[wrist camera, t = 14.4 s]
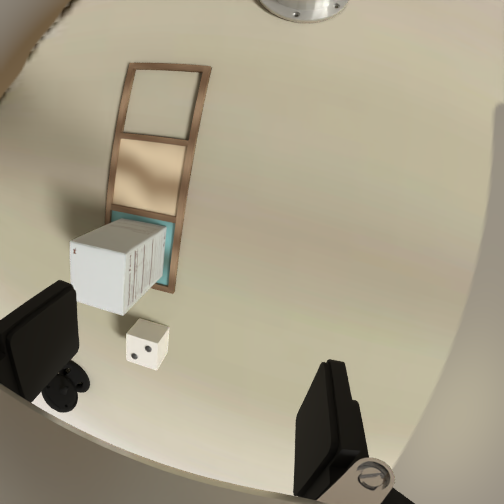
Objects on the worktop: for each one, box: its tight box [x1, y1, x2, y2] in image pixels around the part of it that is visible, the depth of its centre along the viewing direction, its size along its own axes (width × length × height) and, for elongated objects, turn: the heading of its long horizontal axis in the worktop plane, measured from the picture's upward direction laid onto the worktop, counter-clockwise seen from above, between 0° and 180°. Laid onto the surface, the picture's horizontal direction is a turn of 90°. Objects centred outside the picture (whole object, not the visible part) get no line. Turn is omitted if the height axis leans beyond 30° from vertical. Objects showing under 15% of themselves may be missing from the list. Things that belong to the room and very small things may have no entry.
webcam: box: [42, 361, 90, 412], centre depth 48 cm, size 8×8×10 cm
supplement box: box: [70, 218, 167, 316], centre depth 37 cm, size 7×7×13 cm
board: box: [105, 63, 212, 294], centre depth 40 cm, size 31×12×1 cm, turn 169°
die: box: [126, 318, 169, 370], centre depth 45 cm, size 5×5×5 cm
